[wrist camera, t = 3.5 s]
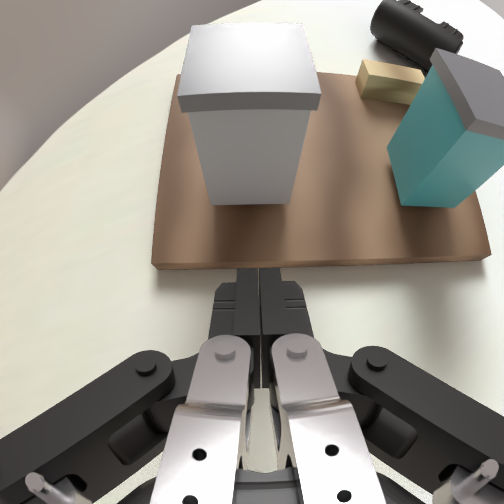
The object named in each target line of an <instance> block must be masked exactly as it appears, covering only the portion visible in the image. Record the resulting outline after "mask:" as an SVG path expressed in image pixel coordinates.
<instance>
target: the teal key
mask: <svg viewBox="0 0 504 504" xmlns="http://www.w3.org/2000/svg"><path fill="white" fill-rule="evenodd" d="M430 61H431V63H432V66H431V68H430V70H429V72H428V74H427V76H426V78H425V80H424V82H423V83H422V85H421V87H420V89H419V91H418V93H417V94H416V96H415V98H414V100H413V102H412V103H411V105H410V107H409V109H408V111H407V112H406V114H405V116H404V118H403V120H402V121H401V123H400V125H399V127H398V128H397V130H396V132H395V133H394V135H393V137H392V139H391V140H390V142H389V144H388V145H387V151H388V154H389V158H390V162H391V166H392V169H393V173H394V177H395V181H396V186H397V190H398V194H399V199H400V203H401V206H426V207H446V208H455V207H456V206H458V205H459V204H460V203H461V202H462V201H464V200H465V199H466V198H467V197H468V196H469V195H471V194H472V193H473V192H474V191H475V190H476V189H478V188H479V187H480V186H481V185H482V184H483V183H484V182H485V181H487V180H488V179H489V178H490V177H491V176H492V175H493V174H494V173H495V172H497V171H498V170H499V169H500V168H501V167H502V166H503V165H504V77H503V75H502V74H501V72H500V71H499V70H497V69H494V68H492V67H489V66H487V65H484V64H482V63H479V62H477V61H474V60H471V59H469V58H466V57H463V56H460V55H457V54H454V53H451V52H448V51H445V50H442V49H438V48H435V50H434V52H433V54H432V56H431V58H430Z"/></svg>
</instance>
